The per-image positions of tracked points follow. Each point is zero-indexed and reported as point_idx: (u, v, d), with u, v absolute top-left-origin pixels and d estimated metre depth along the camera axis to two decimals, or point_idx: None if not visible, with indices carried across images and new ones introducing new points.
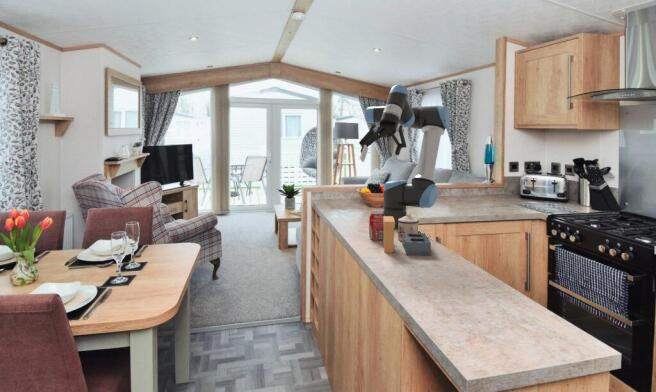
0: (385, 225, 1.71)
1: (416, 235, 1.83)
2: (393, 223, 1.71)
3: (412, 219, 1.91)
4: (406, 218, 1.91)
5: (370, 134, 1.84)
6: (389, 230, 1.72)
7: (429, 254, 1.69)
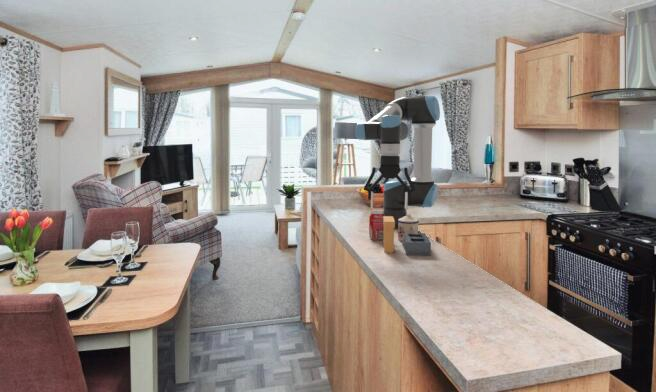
0: (385, 225, 1.71)
1: (416, 235, 1.83)
2: (393, 223, 1.71)
3: (412, 219, 1.91)
4: (406, 218, 1.91)
5: (372, 177, 1.75)
6: (389, 230, 1.72)
7: (429, 254, 1.69)
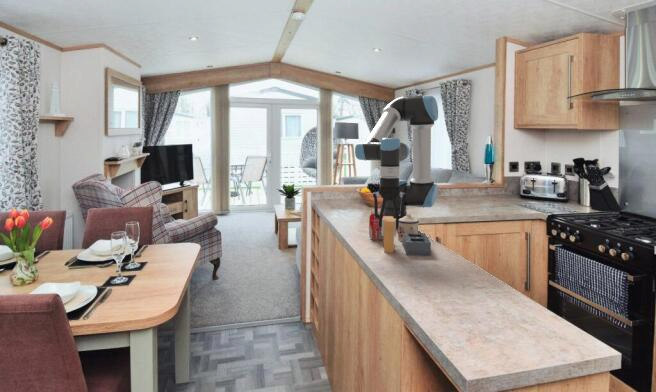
0: (385, 225, 1.71)
1: (416, 235, 1.83)
2: (393, 223, 1.71)
3: (412, 219, 1.91)
4: (406, 218, 1.91)
5: (377, 202, 1.76)
6: (389, 230, 1.72)
7: (429, 254, 1.69)
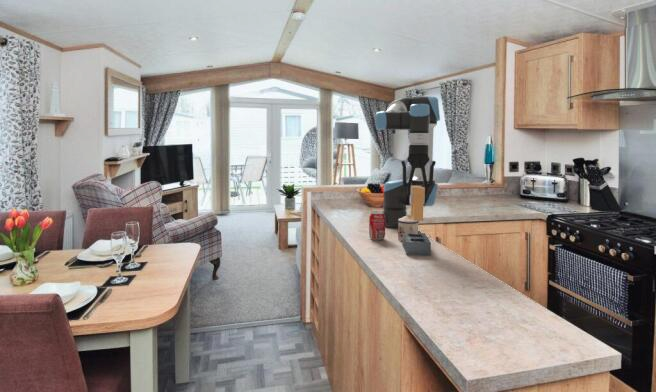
0: (414, 192, 1.68)
1: (416, 235, 1.83)
2: (423, 190, 1.68)
3: (412, 219, 1.91)
4: (406, 218, 1.91)
5: None
6: (418, 198, 1.69)
7: (429, 254, 1.69)
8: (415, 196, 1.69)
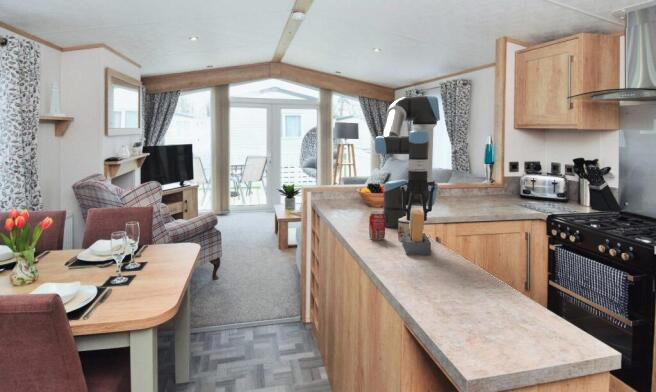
0: (414, 218, 1.70)
1: None
2: (422, 216, 1.69)
3: None
4: (406, 218, 1.91)
5: None
6: (417, 224, 1.71)
7: (429, 254, 1.69)
8: (414, 222, 1.71)
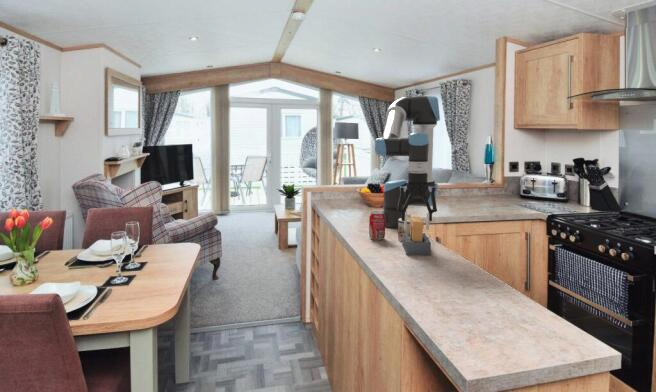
0: (414, 225, 1.70)
1: None
2: (422, 223, 1.70)
3: None
4: None
5: (403, 196, 1.75)
6: (417, 231, 1.71)
7: (429, 254, 1.69)
8: (414, 229, 1.71)
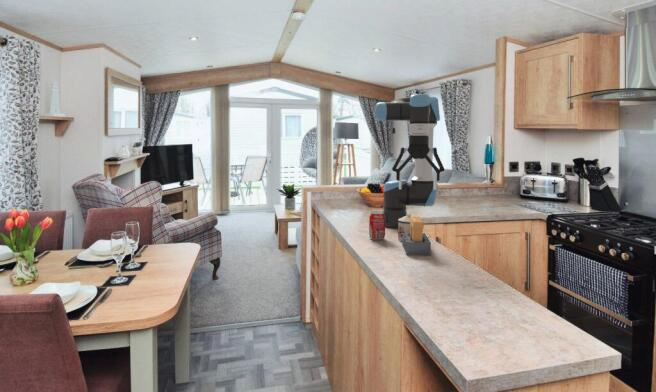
0: (414, 225, 1.70)
1: None
2: (422, 223, 1.70)
3: None
4: (406, 218, 1.91)
5: (401, 157, 1.73)
6: (417, 231, 1.71)
7: (429, 254, 1.69)
8: (414, 229, 1.71)
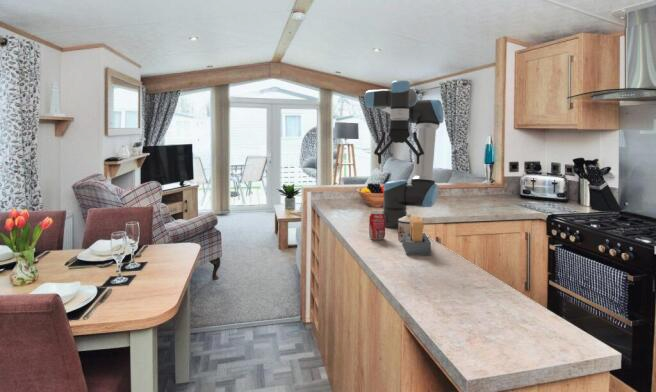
0: (414, 225, 1.70)
1: None
2: (422, 223, 1.70)
3: None
4: (406, 218, 1.91)
5: (382, 141, 1.80)
6: (417, 231, 1.71)
7: (429, 254, 1.69)
8: (414, 229, 1.71)
